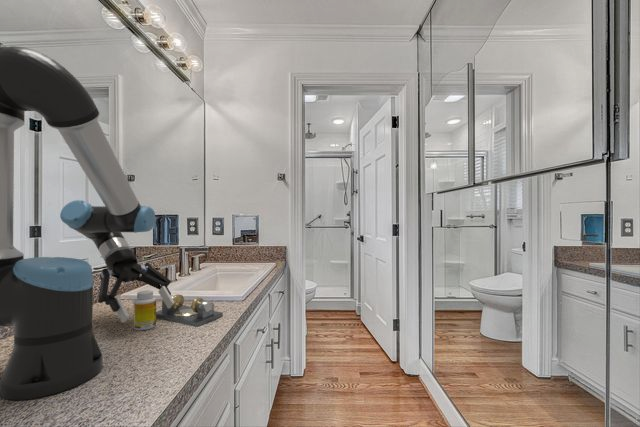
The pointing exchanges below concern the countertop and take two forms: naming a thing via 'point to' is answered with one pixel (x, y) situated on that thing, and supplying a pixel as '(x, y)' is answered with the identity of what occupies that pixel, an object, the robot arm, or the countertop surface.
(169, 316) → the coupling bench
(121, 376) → the countertop surface
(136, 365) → the countertop surface
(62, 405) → the countertop surface
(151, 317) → the supplement bottle
